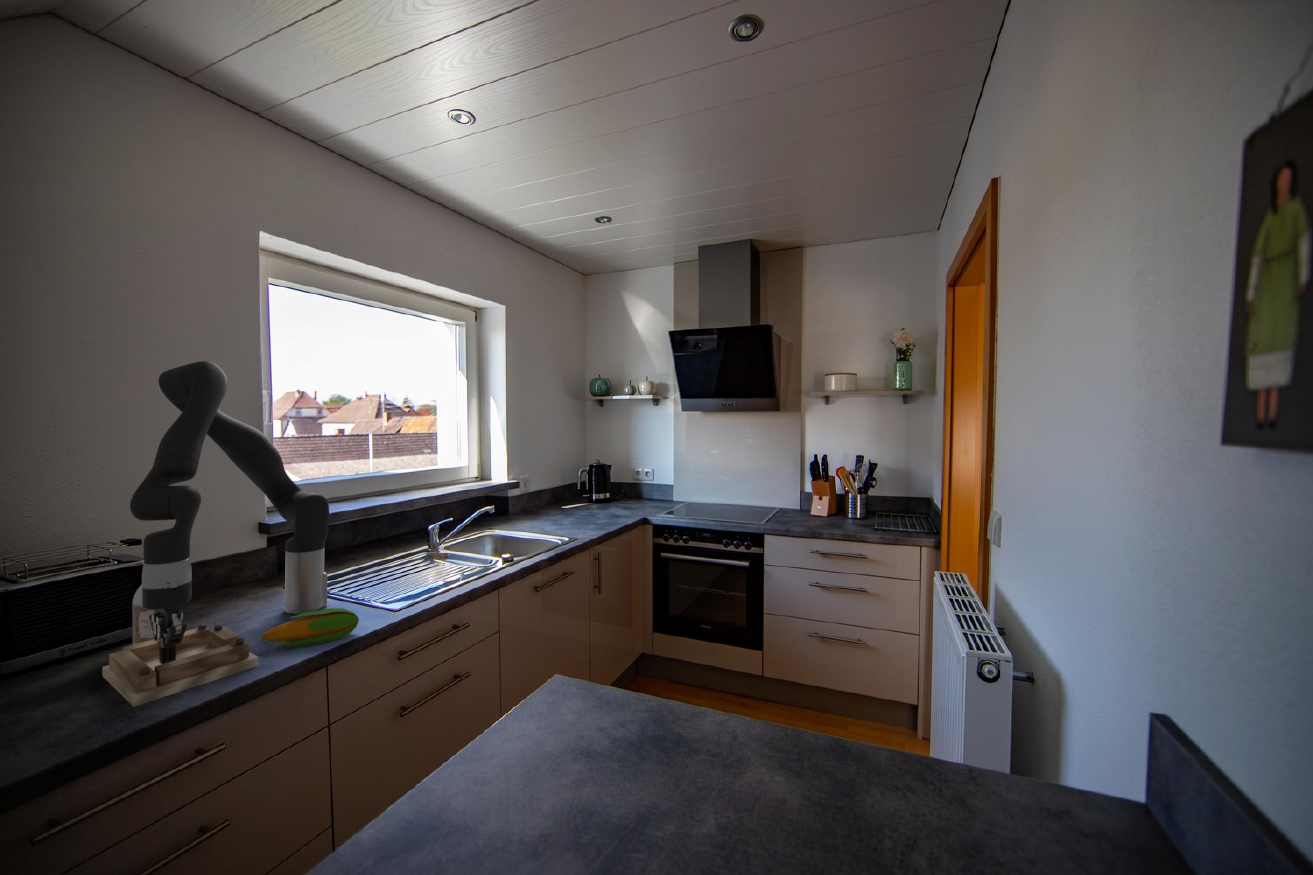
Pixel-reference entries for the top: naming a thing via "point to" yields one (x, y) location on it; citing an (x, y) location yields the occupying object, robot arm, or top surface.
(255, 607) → the top surface
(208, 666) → the brown rectangular block
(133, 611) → the bath foam
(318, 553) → the robot arm
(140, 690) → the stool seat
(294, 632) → the corn
